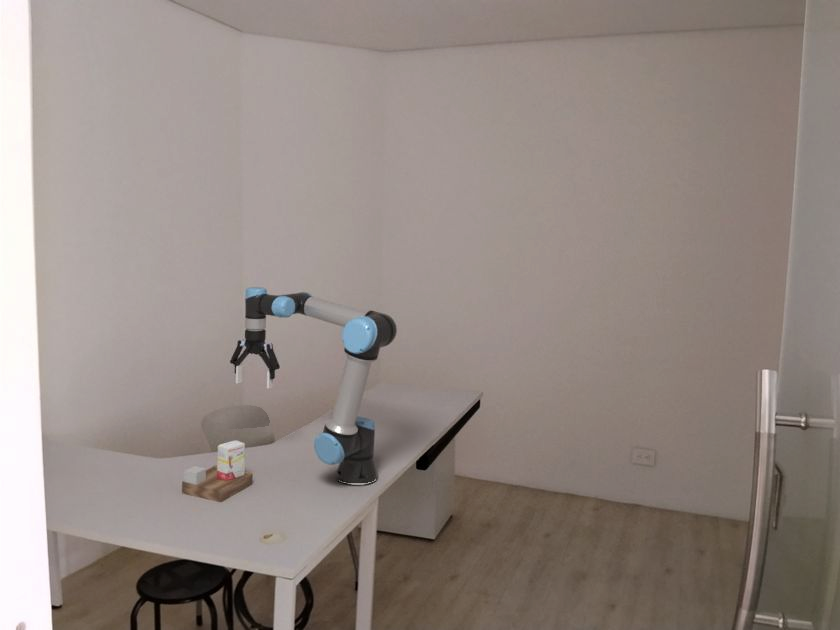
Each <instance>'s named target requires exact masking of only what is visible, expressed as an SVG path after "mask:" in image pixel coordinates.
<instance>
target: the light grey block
mask: <svg viewBox="0 0 840 630" xmlns="http://www.w3.org/2000/svg"><path fill="white" fill-rule="evenodd" d="M206 470H207V468H206V467H200V466H195V465H193V466H191V467H190V468H189V467H188V468H187V469H185V470H184V471H183V472H184V476H183V477H184V478H183V480H184V482H187V483H192V484H196V485H197V484H199V483H200V482H202V481H204V480H206Z"/></svg>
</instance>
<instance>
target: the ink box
mask: <svg viewBox="0 0 840 630" xmlns="http://www.w3.org/2000/svg"><path fill="white" fill-rule="evenodd" d="M245 447H246V443H245V442H242V441H239V440H231V441H228V442H225V443H221V444H218V446H217V463H216V464H217V465H216V466H217V478H219V479H221V480H224V481H229V480H231V479H234V478H237V477H240V476H242V475H244V471H245V464H246V463H245V460H246V459H245V456H246V453H245V452H246V451H245V450H246V448H245Z"/></svg>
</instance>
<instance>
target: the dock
mask: <svg viewBox="0 0 840 630" xmlns="http://www.w3.org/2000/svg"><path fill="white" fill-rule="evenodd" d="M253 478H254V476H253V472H249V471H245V470H244V475H242V476H240V477H237V478H234V479H231V480H229V481H224V480H221V479H219V478H217V465H215V464H214V465H213V466H212V467H210V468H207V469H206V480H204V481H202V482H200V483H199V484H197V485H196V484H192V483H187V482H184V481H182V482H181V494H183V495H187V496H188V495H189V496H193V497H197V498H202V499H204V500H210V501H213V502H214V501H215V502H217V503H222V502H224V501H227V500H228V499H230V498H231V497H233V496H234V495H236V494H238V493H240V492H241V491H244V490H245V489H247V488H249V487H250V486H252V485H253Z"/></svg>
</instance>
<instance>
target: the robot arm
mask: <svg viewBox="0 0 840 630" xmlns="http://www.w3.org/2000/svg"><path fill="white" fill-rule="evenodd" d="M244 297H245V298H244V300H245V301H244V302H245V307H244V308H245V312H244V313H245V315H244V328H245V330H244V339H245V340H244V339H239V340H237V345H236V348H235V350H234V352H233V355H232V356H231V359H230V361H229V363H230V364H231V365H232V364H233V366H234V375H235V384H241V383H242V382H243V364H242V363H243V362H244V360H245V359H246V358H247V357H248V356H249V354H251V355H256V356H257V355H258V356H259V357H260V358H261V360H262V361H263V363H264V364H265V366H266V367H267V369H268V370H267V373H266V375H267V376H266V389H271V388H273V387H274V386H273V385H274V379H275V378H276V371H277V370H279V369H280V368H281V367H280V363H279V360H278V359H277V355H276V352H275V350H274V345H273V343H266V335H267V331H266V327H267V326H266V325H267V316H271V317H276V318H290V317H291V316H292V315H296V314H297V315H298V314H299V315H302V316H303V315H304V316H307V317H310V318H313V319H317V320H319V321H323V322H326V323H329V324H333V325H336V326H339V327H343V329H342V332H341V342H343V344H342V345H343V346H344V348H343V349H344V350H343V353H344V354H345V355H346V359H345V364H344V367H343V371H342V374H341V379H340V383H339V387H338V390H337V394H336V398H335V401H334V405H333V410H332V413H331V417H330V418H328V419H326V421H325V424H324V427H323V430H322V432H321V433H319V434H318V435H317V436H316V437H315V439H314V443H313V449H314V452H315V454H316V456H317V458H318V459H319V460H320V461H321V462H322V463H323V464H326V465H329V466H330V465H331V466H333V465H337V464H338V467H337V470H336V474H335V475H336V478H337V479H338V480H340V481H342V482H346V483H368V482H372V481H374V480H375V479H376V478H377V479H378V470H377V466H376V464H375V460H374V452H375V451H374V450H375V435H376V434H375V433H376V432H375V431H376V429H375V421H374V420H372V419H371V418H369V417H365V416H359V415H358V413H359V410H360V406H361V403H362V400H363V396H364V392H365V388H366V384H367V381H368V378H369V373H370V369H371V367H372V363H373V362H375V361H377V360H378V357H379V355H380V350H381V348H383V347H384V348H385V347H387V346H389V345H390V344H391V343H393V341H394V340H395V338H396V336H397V334H398V333H397V330H398V328H397V323H396V322H395V320H394V319H393V318H392V317H391V316H390V315H389V314H386V313H383V312H378V311H374V310H373V309H371V310H368V311H365V310H361V309H357V308H355V307H350V306H347V305H344V304H340V303H336V302H333V301H330V300H325V299H322V298H319V297H316V296H315V297H314V296H313V294H311V293H310V292H305V291H304V292H303V291H302V292H297V293H295V292H294V293H289V294H281V295H279V294H278V295H276V294H275V295H274V294H268V292H267V288H265V287H261V286H251V287H250V286H249V287H247V288H246V289H245V296H244ZM244 347H245V349H244V350H243V348H244ZM242 350H243V352H242ZM337 479H336V480H337ZM338 480H337V481H338Z"/></svg>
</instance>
